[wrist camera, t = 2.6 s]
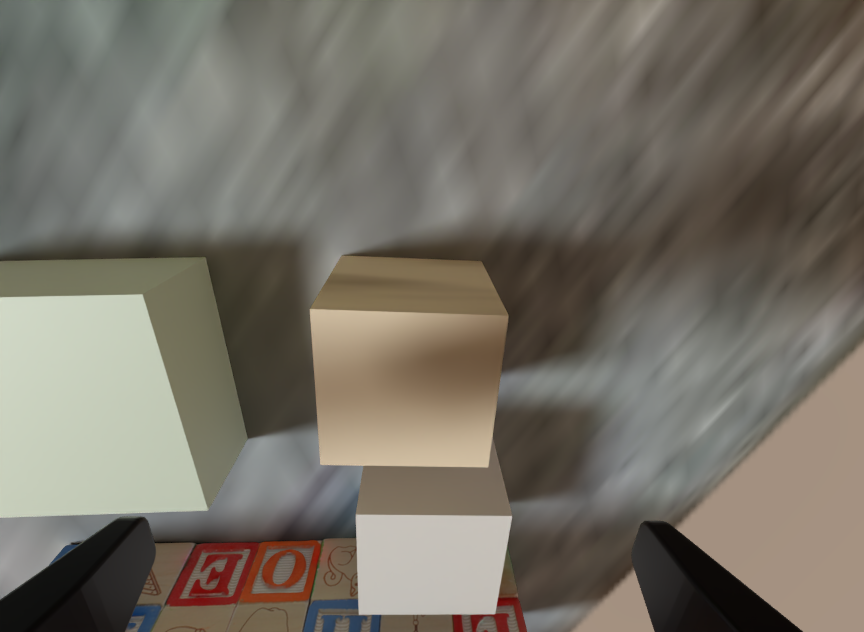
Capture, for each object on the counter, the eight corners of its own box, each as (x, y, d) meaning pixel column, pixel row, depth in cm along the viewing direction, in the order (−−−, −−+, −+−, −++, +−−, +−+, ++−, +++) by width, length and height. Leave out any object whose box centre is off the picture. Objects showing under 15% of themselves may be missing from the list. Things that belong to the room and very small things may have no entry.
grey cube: (477, 504, 20) (495, 614, 16) (372, 503, 20) (358, 614, 15) (488, 418, 18) (512, 516, 14) (371, 416, 18) (355, 514, 13)
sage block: (250, 434, 18) (208, 510, 15) (61, 440, 18) (-30, 518, 14) (209, 255, 15) (142, 294, 11) (-21, 259, 15) (-164, 300, 11)
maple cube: (469, 378, 17) (488, 467, 13) (346, 375, 17) (320, 464, 12) (481, 260, 15) (509, 316, 11) (342, 254, 15) (309, 309, 10)
